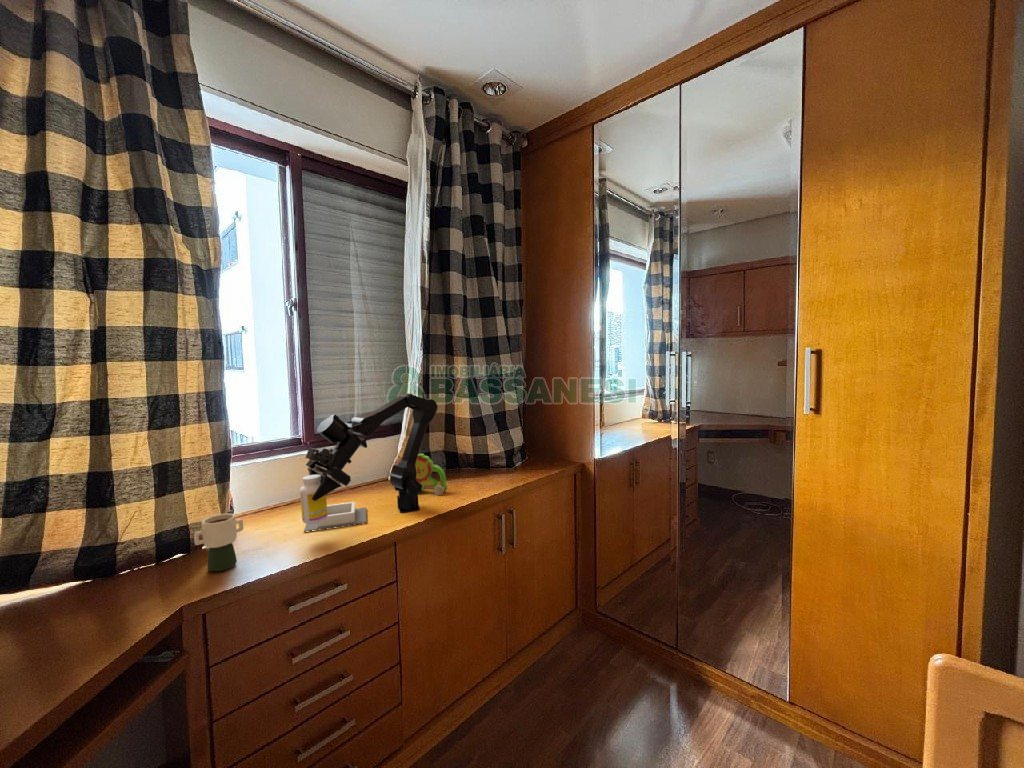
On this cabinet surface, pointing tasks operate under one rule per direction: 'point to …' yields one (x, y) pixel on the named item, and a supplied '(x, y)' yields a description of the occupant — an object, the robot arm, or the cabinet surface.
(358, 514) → the holder
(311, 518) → the supplement bottle
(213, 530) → the white green trophy cup
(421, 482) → the toy lion
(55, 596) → the cabinet surface
